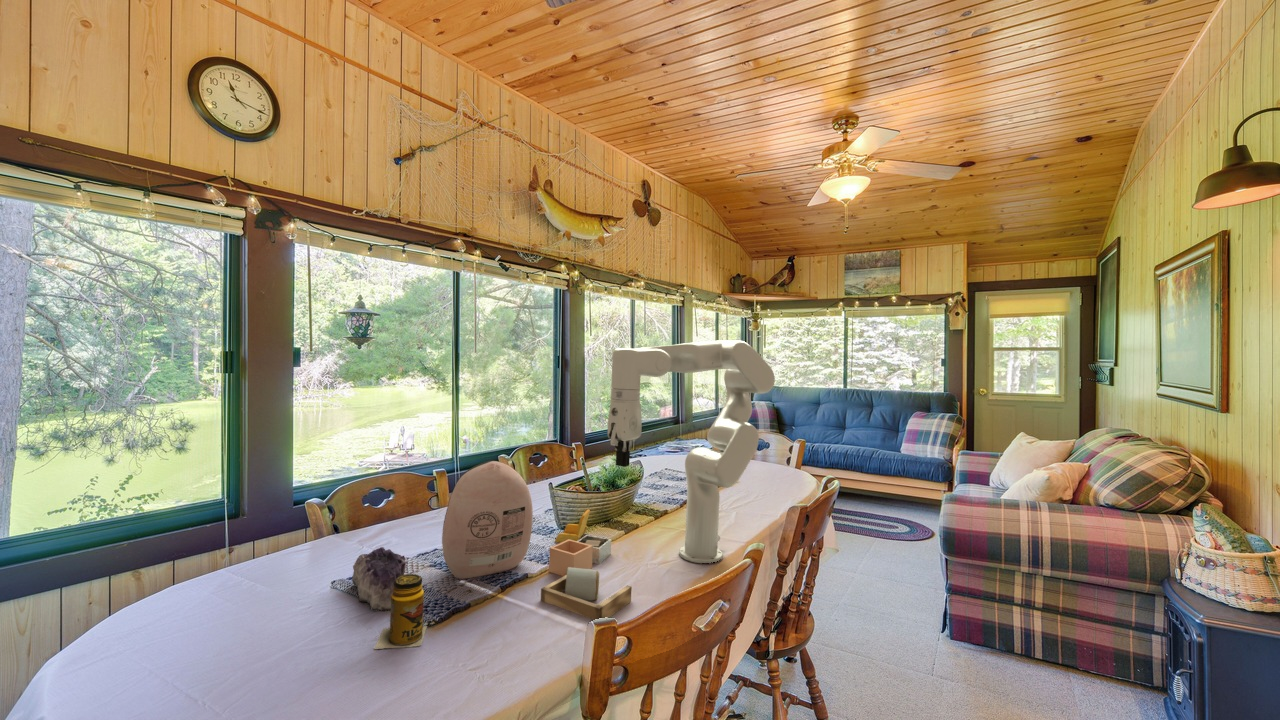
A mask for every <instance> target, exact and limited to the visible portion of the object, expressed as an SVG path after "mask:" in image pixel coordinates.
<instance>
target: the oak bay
mask: <svg viewBox="0 0 1280 720" xmlns="http://www.w3.org/2000/svg"><path fill="white" fill-rule="evenodd" d="M566 576H567V575H565V576H561V577H560V578H558V579H556V580H554V581H553V582H551V583H549V584H547V585H545V586H543V587H542V588H541V589H540V601H542V602H544V603H546V604H549V605H552V606H554V607H558V608H561V609H563V610H567V611H569V612H572V613H575V614H577V615H580V616H583V617H586V618H588V619H592V620H595V619H599V618H605V617H609V618H610V617H612V616H613V615H614V614H615V613H617V612H618V611H620V610H622V608H624V607H626V605H628V604H629V603H631V602H632V587H633V586H631V585H629V584H628V585H625V586H624V587H622V588H621V589H620V590H618V591H616V592H615V593H613V595H611V596H609V597H608V598H606V599H605V600H603V601H602V602H601V603H599V604H596V603H593V602H591V601H585V600H582V599H579V598H576V597H573V596H570V595H567V594H565V588H566Z"/></svg>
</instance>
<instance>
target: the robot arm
mask: <svg viewBox="0 0 1280 720" xmlns="http://www.w3.org/2000/svg"><path fill="white" fill-rule="evenodd" d="M611 364H612V365H611V384H610V385H611V388H610V403H609V405H610V406H609V411H608V419H607V437H608V439H609V440H610V446H614V450H615V466H618V467H623V468H626V467H629V466H630V459H631V458H630V455H631V450H632V445H633V443H634V442H635V441H636V440H637V439H639V438H640V437H641V436H642V421H643V420H642V406H641V400H640V398H641V397H640V396H641V394H640V393H641V376H643V377H651V378H659V377H662V376H665V375H667V374H668V373H679V374H691V373H692V374H694V373H702V372H709V371H715V370H716V371H717V370H725V372H724V375H723V377H724V378H723V379H724V386H725V391H726V401H725V403H724V405H723V407H722V409H721V410H720V412H719V413H718V415H717V416H716V418H715V420H714V421H713V423H712V424H711V426H710V428H709V429H708V431H707V432H708V433H707V436H706V438H707V442H708V444H709V445H710V446H712V448H709V447H701V446H699V447H695V448H692V449H691V450H690V451H689V452H688V453H687V455H686V457H685V459H684V472H685V478H686V490H687V491H686V511H685V535H684V545H683V546H681V547H680V548H679V552H678V553H679V557H681V558H682V559H684V560H685V561H688V562H690V563H695V564H702V563H709V564H714V563H713V562H715V563H718V562H720V561H721V560H723V554H724V553H723V552H722V551H721V549H719V548H718V545H719V544H718V543H719V541H720V540H721V537H720V535H719V525H720V524H719V522H720V521H719V520H720V502H721V501H720V499H721V496H720V491H719V490H720V489H719V488H724V489H727V488H728V489H729V488H731V487H733V486H734V485H736V484H737V483H738V481H739V480H740V478H741V477H742V475H743V474H744V472H745V471H746V469H747V467H748V465H749V464H750V462H751V461H752V459H753V457H754V456H755V454H756V451H757V449H758V446H759V442H760V441H759V439H760V437H759V431H758V429H757V428H756V426H754V425H753V424H751V423H749V420H750V418H751V416H752V413H753V404H752V400H751V396H750V393H751V394H753V393H754V394H761V395H762V394H766V393H769V392H770V391H771V390H772V389H773V388H774V385H775V381H776V377H775V376H776V375H775V373H774V370H773V369H772V367H771V366H770V365H769V364H768V363H767V361H766V360H765V359H764V358H763V357H762V356H761V355H760V353H758V352H757V351H756V349H754V347H752V346H751V345H750V344H749V343H747V342H745V341H744V340H733V339H731V340H727V339H726V340H724V339H723V340H722V339H721V340H711V341H709V340H708V341H700V342H699V341H698V342H687V343H686V342H685V343H677V344H670V345H669V344H667V345H660V346H659V345H657V346H646V347H637V348H625V347H618V348H615V349H614V350H613V352H612V362H611ZM714 448H715V449H714ZM720 559H721V560H720ZM719 560H720V561H719ZM717 561H718V562H717ZM711 562H712V563H711Z"/></svg>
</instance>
